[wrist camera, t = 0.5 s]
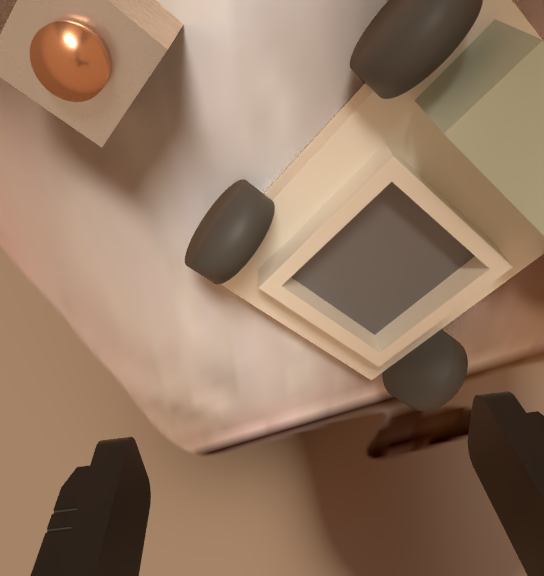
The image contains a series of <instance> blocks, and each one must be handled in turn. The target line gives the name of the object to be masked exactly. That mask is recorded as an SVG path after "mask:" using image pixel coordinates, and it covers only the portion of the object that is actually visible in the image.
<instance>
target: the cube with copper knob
mask: <svg viewBox="0 0 544 576" xmlns="http://www.w3.org/2000/svg"><path fill="white" fill-rule="evenodd" d="M182 26H183V24H182V23H181V22H180V21H179V20H178V19H177V18H175V17H174V16H173V15H172V14H171V13H170V12H168V11H167V10H166V9H165V8H164V7H163V6H162V5H160V4H159V3H158V2H157V1H156V0H17V1H16V3H15V5H14V7H13V9H12V11H11V13H10V15H9V17H8V20H7V22H6V24H5V26H4V28H3V30H2V32H1V34H0V78H1V79H3V80H4V81H6V82H7V83H9V84H10V85H12V86H13V87H14V88H16V89H17V90H19V91H20V92H22V93H23V94H25V95H26V96H28V97H29V98H30V99H32V100H33V101H35V102H36V103H38V104H39V105H41V106H42V107H43V108H45V109H46V110H48V111H49V112H51V113H52V114H54V115H55V116H56V117H58V118H59V119H61V120H62V121H64V122H65V123H67V124H68V125H70V126H71V127H72V128H74V129H75V130H77V131H78V132H80V133H81V134H83V135H84V136H85V137H87V138H88V139H90V140H91V141H93V142H94V143H96V144H97V145H98V146H100V147H101V148H102V147H103V145H104V144H105V142H106V141H107V139H108V138H109V136H110V135H111V133H112V132H113V130H114V129H115V127H116V126H117V124H118V123H119V121H120V120H121V118H122V117H123V116H124V114H125V113H126V111H127V110H128V108H129V107H130V105H131V104H132V102H133V101H134V99H135V98H136V96H137V95H138V93H139V92H140V90H141V89H142V87H143V86H144V84H145V83H146V81H147V80H148V78H149V77H150V75H151V74H152V72H153V71H154V69H155V68H156V66H157V65H158V64H159V62H160V61H161V59H162V58H163V56H164V55H165V53H166V52H167V50H168V49H169V47H170V45H171V44H172V42H173V41H174V39H175V37H176V36H177V34H178V32H179V31H180V29H181V28H182Z"/></svg>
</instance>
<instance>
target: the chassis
mask: <svg viewBox="0 0 544 576" xmlns="http://www.w3.org/2000/svg"><path fill="white" fill-rule="evenodd" d="M350 68H351V69H352V70H353V71H354V72H355V73H356V74H357V75H358V76H359V77H360V78H361V79H362V80H363V81H364V82H365V83H364V85H363V86H362V87H361V88H360V89H359V90H358V91H357V92H356V93H355V94H354V95H353V97H352V98H351V99H350V100H349V101H348V102H347V103H346V104H345V105H344V106H343V108H342V109H341V110H340V111H339V112H338V113H337V114H336V115H335V116H334V117H333V119H332V120H331V121H330V122H329V123H328V124H327V125H326V126H325V127H324V128H323V129H322V131H321V132H320V133H319V134H318V135H317V136H316V137H315V138H314V139H313V140H312V142H311V143H310V144H309V145H308V146H307V147H306V148H305V149H304V150H303V151H302V152H301V154H300V155H299V156H298V157H297V158H296V159H295V160H294V161H293V162H292V163H291V165H290V166H289V167H288V168H287V169H286V170H285V171H284V172H283V173H282V174H281V176H280V177H279V178H278V179H277V180H276V181H275V182H274V183H273V184H272V185H271V186H270V188H269V189H268V190H267V191H266V192H265V193H264V194H263V193H262V192H260V191H259V190H258V189H256V188H255V187H254V186H252V185H251V184H250V183H248V182H247V181H246V180H239V181H237V182H235V183H234V184H233V185H231V186H230V187H229V188H228V189H227V190H226V191H225V192H224V193H223V194H222V195H221V196H220V197H219V198H218V199H217V201H216V202H215V203H214V204H213V206H212V207H211V208H210V209H209V211H208V212H207V214H206V215H205V217H204V218H203V220H202V221H201V223H200V224H199V226H198V228H197V229H196V231H195V233H194V235H193V237H192V239H191V241H190V243H189V246H188V249H187V252H186V256H185V264H186V265H187V266H188V267H190V268H191V269H193V270H194V271H196V272H197V273H199V274H201V275H202V276H204V277H205V278H207V279H209V280H210V281H212V282H213V283H215V284H220V285H222V286H223V287H225V288H227V289H228V290H230V291H231V292H233V293H234V294H236V295H238V296H239V297H241V298H242V299H244V300H245V301H247V302H249V303H250V304H252V305H253V306H255V307H257V308H258V309H260V310H261V311H263V312H264V313H266V314H268V315H269V316H271V317H272V318H274V319H275V320H277V321H279V322H280V323H282V324H283V325H285V326H286V327H288V328H290V329H291V330H293V331H294V332H296V333H297V334H299V335H301V336H302V337H304V338H305V339H307V340H308V341H310V342H312V343H313V344H315V345H316V346H318V347H320V348H321V349H323V350H324V351H326V352H327V353H329V354H331V355H332V356H334V357H335V358H337V359H338V360H340V361H342V362H343V363H345V364H346V365H348V366H349V367H351V368H353V369H354V370H356V371H357V372H359V373H360V374H362V375H364V376H365V377H367V378H368V379H370V380H373V379H374V378H375V377H377V376H378V375H380V374H381V373H382V372H383V382H384V385H385V388H386V389H387V391H388V392H389V393H390V394H391V395H392V396H394V397H395V398H397V399H398V400H400V401H401V402H403V403H405V404H406V405H408V406H409V407H411V408H413V409H415V410H419V411H430V410H434V409H436V408H439V407H441V406H443V405H444V404H446V403H447V402H448V401H449V400H451V398H453V397H454V396H455V394H456V393H457V392H458V390H459V389H460V387H461V386H462V384H463V382H464V379H465V377H466V373H467V367H468V360H467V355H466V352H465V349H464V348H463V346H462V345H461V344H460V343H459V342H458V341H456V340H455V339H454V338H452V337H451V336H450V335H449V334H447V333H446V332H445V331H443V330H442V328H443V327H445V326H446V325H447V324H449V323H450V322H452V321H453V320H454V319H456V318H457V317H458V316H460V315H461V314H462V313H464V312H465V311H467V310H468V309H469V308H471V307H472V306H473V305H475V304H476V303H477V302H479V301H480V300H481V299H483V298H484V297H486V296H487V295H488V294H490V293H491V292H492V291H494V290H495V289H496V288H498V287H499V286H500V285H502V284H503V283H505V282H506V281H507V280H509V279H510V278H511V277H513V276H514V275H515V274H517V273H518V272H520V271H521V270H522V269H524V268H525V267H526V266H528V265H529V264H530V263H532V262H533V261H534V260H536V259H537V258H539V257H540V256H541V255H543V254H544V41H543V40H542V39H541V37H540V36H539V35H538V33H537V32H536V31H535V29H534V28H533V27H532V26H531V24H530V23H529V22H528V20H527V19H526V18H525V16H524V15H523V14H522V12H521V11H520V10H519V8H518V7H517V6H516V5H515V3H514V2H513V1H512V0H389V1H388V2H387V3H386V4H385V5H384V7H383V8H382V9H381V10H380V11H379V13H378V14H377V15H376V16H375V18H374V19H373V20H372V22H371V23H370V24H369V26H368V27H367V29H366V30H365V31H364V33H363V35H362V36H361V38H360V39H359V41H358V43H357V45H356V47H355V49H354V51H353V53H352V56H351V60H350Z"/></svg>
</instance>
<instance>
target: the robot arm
mask: <svg viewBox="0 0 544 576" xmlns="http://www.w3.org/2000/svg"><path fill="white" fill-rule="evenodd" d="M468 449H469V455H470V459H471V462H472V465H473V467H474V469H475V471H476V473H477V475H478V477H479V479H480V481H481V483H482V485H483V487H484V489H485V491H486V493H487V495H488V497H489V499H490V501H491V503H492V505H493V507H494V509H495V511H496V513H497V515H498V517H499V519H500V521H501V523H502V525H503V527H504V529H505V531H506V533H507V535H508V537H509V539H510V541H511V543H512V545H513V547H514V549H515V551H516V553H517V555H518V557H519V559H520V561H521V563H522V565H523V567H524V569H525V571H526V573H527V575H528V576H544V416H543V415H542V414H541V413H539V412H530V413H526V412H525V410H524V409H523V408H522V406H521V405H520V403H519V402H518V400H517V399H516V397H515V396H514V395H513V394H512V393H510V392H500V393H492V394H484V395H476V396H475V397H474V400H473V406H472V413H471V420H470V428H469V435H468ZM150 498H151V493H150V483H149V479H148V476H147V473H146V470H145V467H144V464H143V461H142V459H141V456H140V453H139V450H138V447H137V444H136V442H135V440H134V438H133V437H127V438H118V439H110V440H103V441H99V442H98V444H97V446H96V449H95V452H94V455H93V459H92V462H91V465H90V466H84V467H77V468H76V469H75V471H74V472H73V473H72V475H71V476H70V477H69V478H68V480H67V481H66V482H65V484H64V485H63V486H62V488H61V490H60V493H59V496H58V499H57V502H56V505H55V507H54V514H52V516H51V519H50V522H49V525H48V528H47V530H48V531H47V533H45V536H44V539H43V542H42V545H41V548H40V551H39V554H38V556H37V559H36V562H35V565H34V568H33V571H32V573H31V576H139V570H140V564H141V557H142V552H143V546H144V539H145V533H146V528H147V521H148V515H149V509H150Z"/></svg>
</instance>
